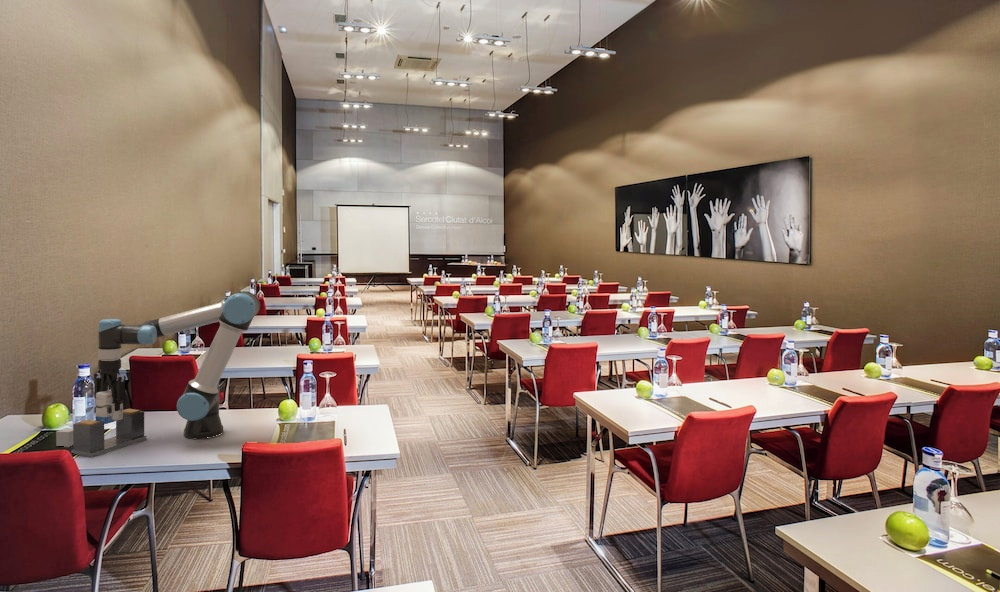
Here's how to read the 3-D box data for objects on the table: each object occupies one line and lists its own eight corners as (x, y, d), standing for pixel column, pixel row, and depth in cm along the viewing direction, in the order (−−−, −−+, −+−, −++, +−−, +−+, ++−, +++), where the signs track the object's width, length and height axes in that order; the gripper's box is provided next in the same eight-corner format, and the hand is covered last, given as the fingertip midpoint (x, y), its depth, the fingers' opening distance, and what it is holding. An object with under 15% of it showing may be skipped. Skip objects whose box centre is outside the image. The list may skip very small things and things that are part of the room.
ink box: (105, 424, 236) (105, 394, 235) (94, 423, 237) (94, 393, 236) (123, 419, 244) (123, 389, 243) (112, 417, 245) (113, 388, 244)
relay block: (78, 443, 243) (78, 428, 243) (69, 447, 238) (68, 432, 238) (65, 442, 244) (65, 427, 243) (56, 446, 239) (56, 431, 238)
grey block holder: (146, 439, 251) (146, 410, 250) (91, 457, 228) (91, 425, 227) (127, 436, 254) (127, 407, 253) (71, 453, 231) (71, 422, 230)
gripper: (136, 359, 240) (136, 418, 241) (100, 355, 245) (100, 412, 247) (119, 362, 233) (119, 423, 234) (82, 358, 238) (82, 417, 239)
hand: (109, 417), depth 240 cm, fingers closed on ink box, 5 cm apart
